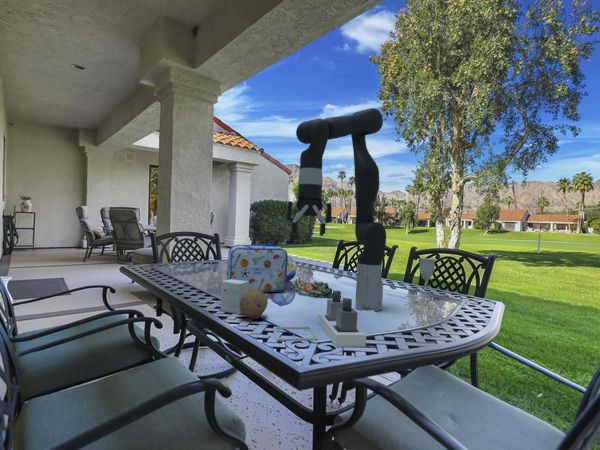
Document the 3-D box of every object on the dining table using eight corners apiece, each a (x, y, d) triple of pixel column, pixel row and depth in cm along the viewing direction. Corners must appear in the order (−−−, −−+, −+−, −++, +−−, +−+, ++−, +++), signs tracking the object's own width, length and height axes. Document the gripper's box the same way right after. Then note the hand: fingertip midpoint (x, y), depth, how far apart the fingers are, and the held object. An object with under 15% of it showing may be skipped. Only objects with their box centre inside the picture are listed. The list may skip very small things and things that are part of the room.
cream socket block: (318, 326, 107) (318, 311, 107) (343, 326, 108) (343, 311, 108) (335, 350, 87) (336, 332, 87) (365, 350, 89) (366, 332, 89)
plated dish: (273, 286, 172) (274, 271, 172) (326, 286, 180) (327, 272, 180) (290, 304, 139) (291, 286, 139) (354, 303, 146) (356, 286, 146)
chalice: (435, 299, 154) (437, 259, 154) (432, 302, 148) (434, 260, 148) (418, 296, 158) (420, 257, 158) (414, 299, 152) (416, 258, 152)
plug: (350, 336, 96) (352, 297, 95) (356, 342, 91) (358, 301, 91) (335, 337, 95) (337, 297, 95) (340, 342, 90) (341, 301, 90)
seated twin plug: (340, 325, 105) (341, 289, 105) (344, 330, 101) (346, 292, 101) (326, 325, 105) (327, 289, 105) (329, 330, 100) (331, 292, 100)
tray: (310, 331, 102) (310, 326, 102) (317, 343, 92) (317, 338, 92) (273, 332, 100) (273, 326, 100) (276, 344, 90) (276, 338, 90)
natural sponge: (262, 325, 105) (263, 293, 105) (234, 322, 107) (235, 290, 107) (269, 317, 114) (271, 287, 114) (244, 315, 116) (245, 285, 116)
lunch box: (284, 288, 164) (286, 242, 163) (290, 293, 154) (292, 244, 153) (225, 289, 156) (227, 240, 155) (227, 294, 146) (229, 242, 145)
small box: (248, 311, 121) (249, 281, 121) (239, 314, 116) (240, 283, 116) (229, 307, 125) (230, 278, 125) (220, 311, 120) (221, 280, 120)
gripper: (329, 186, 114) (327, 235, 114) (286, 183, 111) (284, 234, 111) (335, 184, 106) (333, 236, 106) (289, 181, 104) (287, 235, 104)
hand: (308, 235), depth 109 cm, fingers open, 8 cm apart
